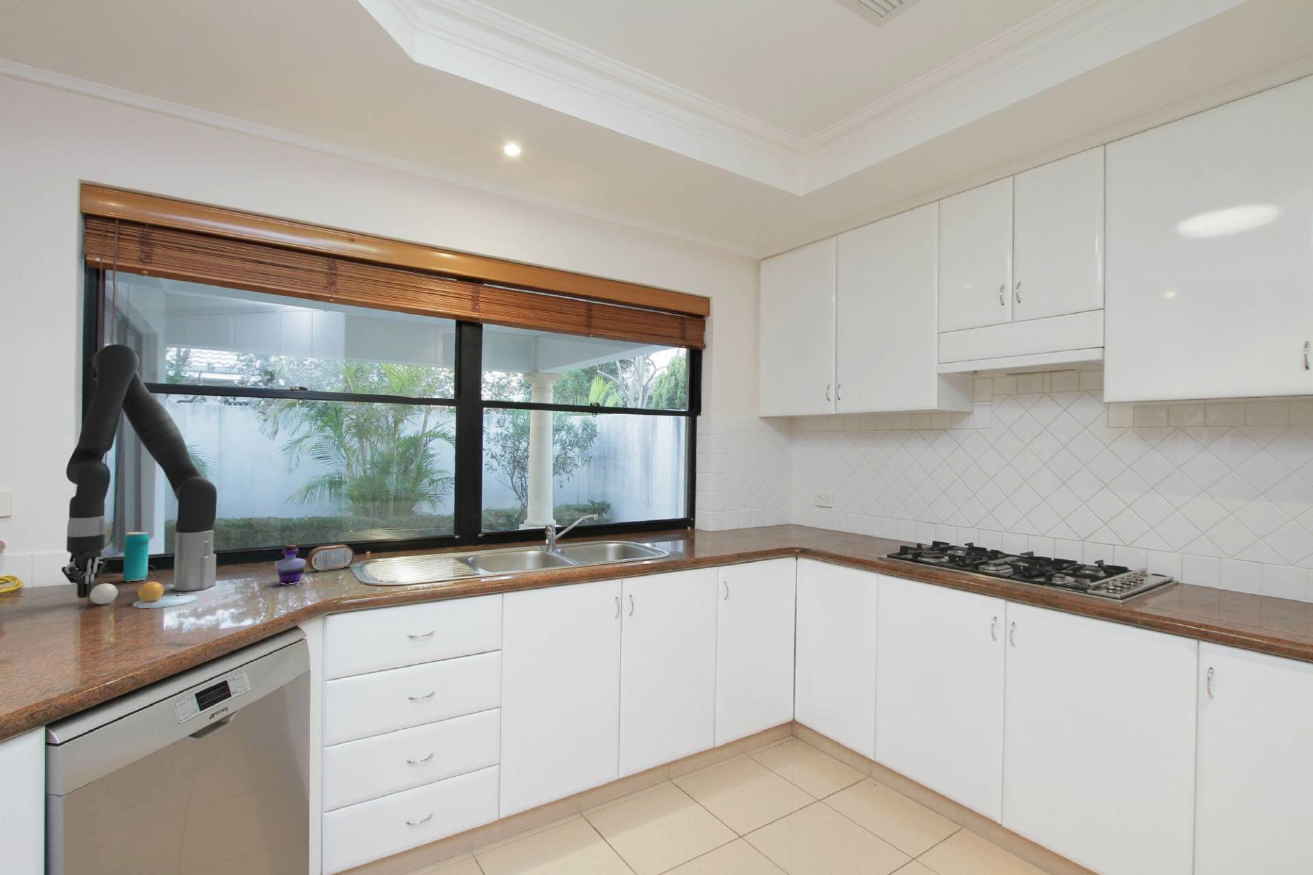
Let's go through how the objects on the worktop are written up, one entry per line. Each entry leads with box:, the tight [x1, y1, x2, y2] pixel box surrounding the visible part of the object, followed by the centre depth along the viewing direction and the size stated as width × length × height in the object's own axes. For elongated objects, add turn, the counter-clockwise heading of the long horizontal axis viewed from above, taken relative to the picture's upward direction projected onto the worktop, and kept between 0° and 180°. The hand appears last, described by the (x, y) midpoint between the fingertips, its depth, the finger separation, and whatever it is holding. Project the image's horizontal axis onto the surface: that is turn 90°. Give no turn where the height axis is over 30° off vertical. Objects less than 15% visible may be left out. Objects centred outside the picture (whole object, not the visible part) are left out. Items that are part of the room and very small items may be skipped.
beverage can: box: [123, 531, 150, 583], centre depth 189 cm, size 6×6×15 cm
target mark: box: [131, 593, 198, 609], centre depth 167 cm, size 14×14×1 cm
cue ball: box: [89, 582, 118, 605], centre depth 163 cm, size 6×6×6 cm
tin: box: [306, 544, 355, 571], centre depth 211 cm, size 15×3×8 cm, turn 141°
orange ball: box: [137, 581, 165, 602], centre depth 166 cm, size 6×6×6 cm
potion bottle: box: [274, 544, 307, 584], centre depth 191 cm, size 9×9×12 cm
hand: (84, 597), depth 164 cm, fingers closed
